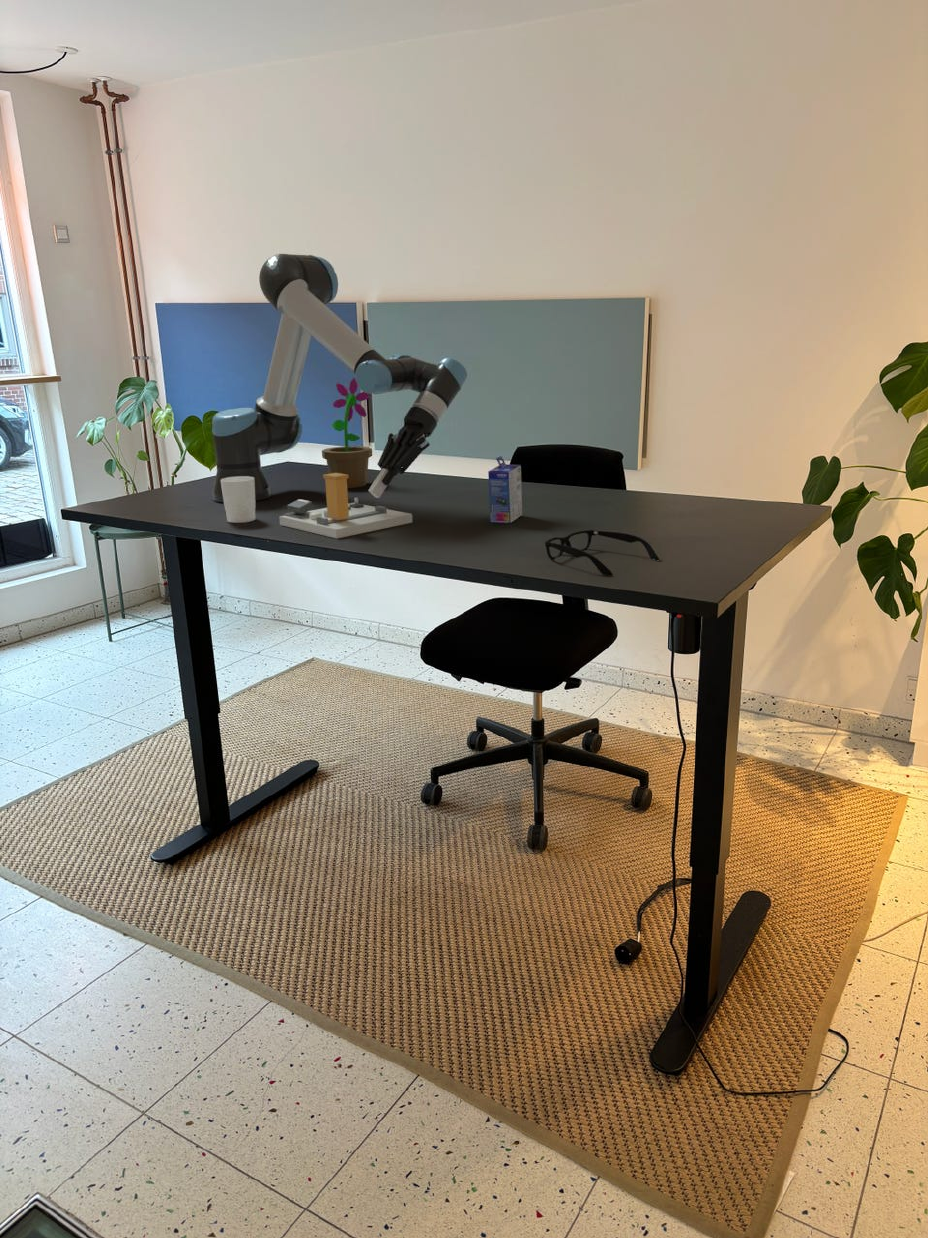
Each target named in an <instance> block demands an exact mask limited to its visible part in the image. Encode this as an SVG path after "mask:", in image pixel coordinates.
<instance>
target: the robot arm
mask: <svg viewBox="0 0 928 1238" xmlns="http://www.w3.org/2000/svg"><path fill="white" fill-rule="evenodd" d="M258 279H259V287H260V290H261V293H262V294H263V296H264V297H265V299H266V300H267V301H268V303H270V304H271V306H272V307H273V308H275V310H277V311H278V313H280V314H281V317H280V321H279V326H278V331H277V334H276V339H275V344H274V348H273V352H272V357H271V360H270V365H269V371H268V373H267V374H268V375H267V379H266V383H265V388H264V393H263V395H262V396H260V397H258V398H256V402H255V407H254V408H252V407H240V408H239V407H238V408H233V409H232V408H230V409H227V410H223V411H219V412H217V413H216V414H214V415H213V417H212V421H211V422H212V429H211V432H212V438H213V445H214V446H213V448H214V455H215V465H216V474H215V480H214V484H213V488H212V500H213V501H215V502H217V503H224V500H223V494H222V487H221V479H223V478H228V477H237V476H249V477H254V480H255V502H256V501H257V502H258V501H262V500H263V501H264V500H266V499H268V498H270V497H271V491H270V490H271V489H270V487H269V484H268V482H267V479H266V477H265V474H264V472H263V470H262V465H261V456H263V455H264V456H265V455H268V454H270V455H271V454H274V453H275V454H279V453H284V452H286V451H289V450H291V449H293V448H294V447H295V446H296V445H297V444H298V443H299V442H300V439H301V437H302V434H303V424H302V423H301V422H302V421H301V417H300V416H299V409H298V407H297V406H296V400H297V396H298V392H299V389H300V388H299V387H300V383H301V379H302V375H303V371H304V367H305V364H306V359H307V355H308V351H309V346H310V342H311V338H312V337H313V338H314V339H315V340H316V341H318V342H319V343H320V344H321V345H322V346H323V347H324V348H325V349H326V350H328V352H330V353H331V354H332V355H333V356H334V357H335V358H336V359H338V361H340V363H342V364H343V365H344V366H345V367H346V368H348V370H350V371H351V372H352V374H354V378H355V380H356V382H357V385H358V387H357V388H358V389H359V390H360V391H361V392H365V393H367V394H370V395H371V394H373V395H381V394H386V393H392V392H393V393H394V392H401V391H413V392H416V393H419V394H418V396H417V397H416V398H415V400H414V401H413V403H412V406H411V407H410V408H409V410H408V411H407V413H406V414H405V416H404V417H403V424H404V425H403V426H402V427H401V428H400V429H399V430H398V433H396V434H394V433H392V432H390V433H389V434H388V436H387V442H386V444H385V446H384V449H383V450H382V454H381V456H380V457H379V460H378V462H377V466H378V467H379V468H380V471H379V472H378V473H377V475H376V477H375V478H374V481H373V483H372V484H371V486H369V489H368V492H369V493H370V494H371V495H372V496H373V497H374V498H377V499H380V497H381V496H382V494H383V493H384V492H385V490H386V488H387V487H388V485H390V483H391V482H392V480H393V479H394V477H395V476H397V475H398V474H399V475H403V474H404V473H405V472H406V471H407V470H408V469H409V467H410V466H411V465H412V464H413V463H414V462H415V461H416V460H417V458H418V457H419V456H420V454H421V453H423V452H424V451H425V450H426V449H427V448H429V446H430V442H429V441H428V440H427V438H429V437H431V436H432V434H433V433H434V431H435V429H436V428H437V427H438V424H439V423H440V421H441V420H442V418H443V416H444V415H445V414H446V412H447V410H448V408H449V407H450V406H451V403H452V402H453V401H454V399H455V398H456V397H457V395H458V393H459V392H460V391H461V389H462V387H463V385H464V383H465V382H466V380H467V378H468V372H467V370H466V368H465V366H464V365H463V364H462V363H461V362H460V361H459V360H457V359H455V358H452V357H444V358H442V359H441V361H439V363H438V364H435V363H431V362H427V361H424V360H421V359H418V358H415V357H412V356H411V355H407V354H406V355H405V354H401V353H396V354H393V355H392V357H389V359H386V358H385V357H384V356H383V355H381V354H380V353H379V352H378V351H376V350H375V349H374V348H373V347H372V346H371V345H370V344H369V343H367V341H366V340H365V339H363V338H362V337H361V336H360V335H359V334H358V333H357V332H356V331H354V330H353V329H352V328H351V327H350V326H349V325H348V324H346V322H345V321H343V320H342V319H341V318H340V317H339V316H337V314H336V313H335V312H333V311H332V310H331V309H330V308H329V307H328V306H327V305H329V304H330V303H331V302H332V301H334V299H335V298H336V296H337V294H338V291H339V281H338V279H339V278H338V275H337V273H336V271H335V269H334V266H333V265H332V264H331V263H330V261H328V260H327V259H325V258H323V257H321V256H316V255H312V254H289V253H279V254H273V255H272V256H271V257H269V258H267V259H266V260H265V262H264V263H263V264H262V266H261V269H260V271H259V278H258Z"/></svg>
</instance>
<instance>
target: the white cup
mask: <svg viewBox="0 0 928 1238" xmlns="http://www.w3.org/2000/svg"><path fill="white" fill-rule="evenodd" d="M221 487H222V494H223V500H224V502H223V505H224V510H225V514H226V521H227V522H229V523H236V524H237V523H239V524H242V523H249V522H253V521H255V520H256V501H255V480H254V477H249V476H237V477H228V478H223V479H221Z"/></svg>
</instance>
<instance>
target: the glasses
mask: <svg viewBox="0 0 928 1238" xmlns="http://www.w3.org/2000/svg"><path fill="white" fill-rule="evenodd" d="M581 534H587V544H586V546H585V547H584V548H582V549H578V548H575V547H572V545H571V542H570V538H571V537H573V536H575V535H581ZM593 536H601V537H606V538H610V539H614V540H618V541H623V542H626V543H630V544H632V543H635V542H636V543H637V542H640V544H642V545H643V546H644V548H645V550H646V552H647V554H648V556H649V558H650V560H651V559H655V560H659V561H660V558H659V557H658V555H657V553H656V552H655V550H654V548H653V547H652V546H651V545H650V543H649V542H647V541H646V540H645V539H644V538H641V537H640V536H637V535H633V534H629V533H624V532H617V531H616V532H615V531H608V530H607V531H606V530H596V529H595V530H594V529H588V530H580V531H574V532H573V533H570V534H568V535H566V536H563V537H558V536H557V537H551V538H549V539H548V540H546V541H545V542H544V544H545V547H546V548H545V549H546V553H547V556H548V558H549V560H554V559H556V558H558V557H562V556H563V553H565V554H568V555H570V556H572V557H575V558H577V559H578V558H583V557H586V558H587V559H589V560H590V561H591V562H592V563H593V565H594V566H595V567H596V568H597V570H598V572H600V573H601V574H606V575H605V576H608V575H613V574H614V573H613V572H612V571H611V570H610V569H609V568H608V567H607V565H605V564H604V563H603V562H602V561H601V560H599V559H598V558H597V557H595V556H594V555H593V554H590V553H588V552H586V550H588V549H589V547H590V545H591V542H592V538H593ZM555 540H559V541H560V544H559V543H555V542H552V541H555ZM550 548H553V549H556V550H558V551H559V553H558V554H557V555H556V556H552V554H551V551H550Z"/></svg>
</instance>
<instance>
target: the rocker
mask: <svg viewBox="0 0 928 1238" xmlns="http://www.w3.org/2000/svg"><path fill="white" fill-rule="evenodd" d="M286 506H287V510H288V511H289V512H297V513H303V512H305V511H310V509H313V508H314V505H313V502H312V501H311V500H307V499H306V500H305V499H300V498H299V499H296V500H295V501H293V502H290V503H289V504H287V505H286Z"/></svg>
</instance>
